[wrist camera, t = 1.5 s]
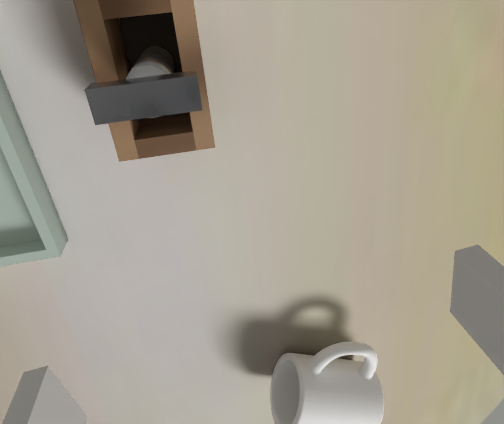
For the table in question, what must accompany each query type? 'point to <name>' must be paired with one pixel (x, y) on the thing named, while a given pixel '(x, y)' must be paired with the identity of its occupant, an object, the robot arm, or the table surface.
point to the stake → (145, 91)
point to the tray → (24, 196)
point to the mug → (327, 387)
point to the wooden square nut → (118, 67)
